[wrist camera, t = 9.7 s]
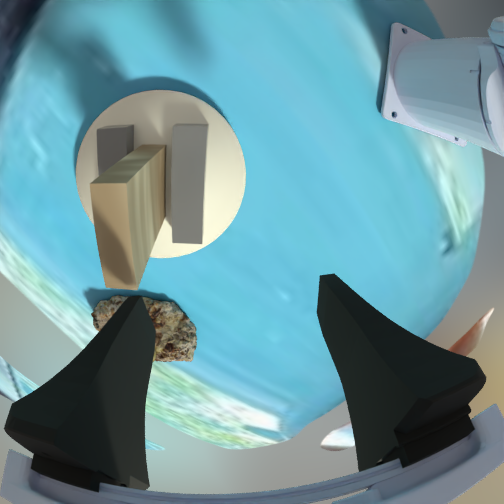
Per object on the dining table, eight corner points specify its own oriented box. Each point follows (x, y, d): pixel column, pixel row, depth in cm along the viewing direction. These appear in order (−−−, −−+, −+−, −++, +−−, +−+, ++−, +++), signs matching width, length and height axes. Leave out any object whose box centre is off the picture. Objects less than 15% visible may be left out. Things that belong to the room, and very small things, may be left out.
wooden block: (166, 144, 16) (126, 183, 10) (165, 216, 19) (137, 290, 12) (142, 144, 16) (89, 183, 9) (143, 215, 19) (105, 287, 12)
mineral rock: (214, 327, 23) (183, 390, 25) (211, 304, 28) (184, 363, 29) (94, 280, 20) (79, 352, 22) (109, 263, 24) (92, 329, 26)
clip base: (253, 93, 16) (257, 92, 14) (237, 254, 22) (238, 273, 20) (79, 97, 15) (61, 99, 12) (92, 247, 21) (80, 264, 19)
